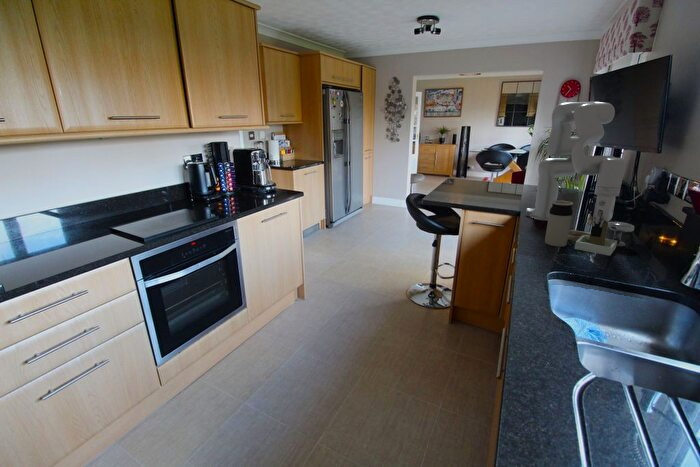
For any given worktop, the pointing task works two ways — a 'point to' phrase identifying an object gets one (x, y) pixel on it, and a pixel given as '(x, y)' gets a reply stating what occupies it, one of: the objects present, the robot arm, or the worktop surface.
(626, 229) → the grey pedestal stand
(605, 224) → the brown rounded lump
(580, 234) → the socket
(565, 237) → the travel mug
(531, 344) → the worktop surface
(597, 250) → the tray
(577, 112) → the robot arm
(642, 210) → the worktop surface
